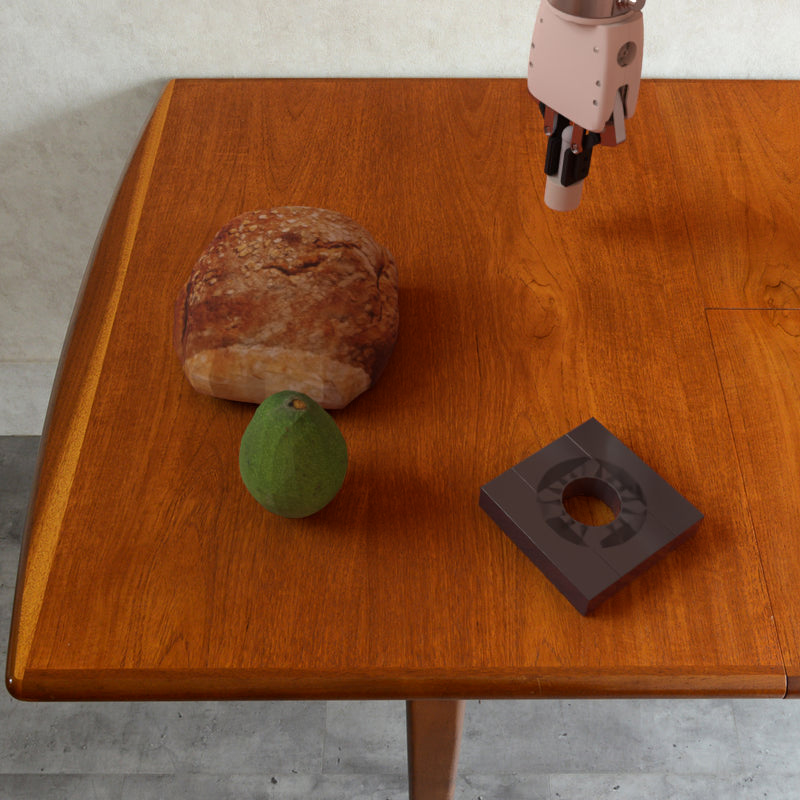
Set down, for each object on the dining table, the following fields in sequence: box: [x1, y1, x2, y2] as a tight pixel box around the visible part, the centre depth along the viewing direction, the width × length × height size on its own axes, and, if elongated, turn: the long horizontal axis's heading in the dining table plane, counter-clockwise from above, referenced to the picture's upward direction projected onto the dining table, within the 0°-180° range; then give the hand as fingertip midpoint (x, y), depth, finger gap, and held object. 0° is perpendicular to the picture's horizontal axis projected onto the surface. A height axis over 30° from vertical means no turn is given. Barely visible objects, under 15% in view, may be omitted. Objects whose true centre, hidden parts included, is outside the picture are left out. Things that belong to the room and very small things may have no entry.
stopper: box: [543, 124, 585, 213], centre depth 87 cm, size 4×4×8 cm
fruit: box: [238, 390, 349, 519], centre depth 67 cm, size 8×8×12 cm
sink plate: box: [478, 416, 705, 618], centre depth 69 cm, size 12×12×2 cm
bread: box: [172, 205, 400, 410], centre depth 78 cm, size 20×18×10 cm
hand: (565, 174), depth 88 cm, fingers closed on stopper
